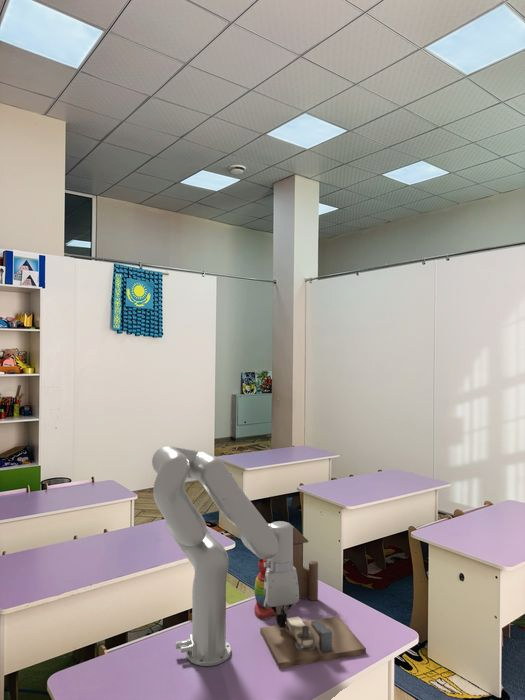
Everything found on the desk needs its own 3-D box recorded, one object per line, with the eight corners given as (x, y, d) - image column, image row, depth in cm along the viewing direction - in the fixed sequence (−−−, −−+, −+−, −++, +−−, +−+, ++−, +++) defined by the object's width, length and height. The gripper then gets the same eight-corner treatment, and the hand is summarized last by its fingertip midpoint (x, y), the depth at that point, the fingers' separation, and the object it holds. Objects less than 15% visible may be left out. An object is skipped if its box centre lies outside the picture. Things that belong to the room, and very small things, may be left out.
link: (316, 646, 140) (317, 630, 140) (300, 649, 139) (300, 633, 139) (300, 622, 153) (300, 608, 153) (285, 625, 152) (285, 610, 152)
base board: (278, 668, 134) (278, 662, 134) (260, 632, 151) (260, 626, 151) (365, 653, 141) (365, 647, 141) (338, 620, 158) (338, 615, 158)
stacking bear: (259, 620, 158) (259, 564, 159) (248, 606, 168) (248, 553, 168) (290, 613, 162) (289, 559, 163) (277, 600, 172) (277, 548, 172)
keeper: (322, 653, 138) (322, 633, 138) (310, 637, 146) (310, 618, 146) (331, 651, 139) (332, 631, 139) (320, 635, 147) (320, 616, 147)
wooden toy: (278, 608, 166) (279, 533, 167) (270, 599, 172) (271, 526, 173) (319, 600, 172) (319, 527, 172) (310, 592, 178) (311, 522, 179)
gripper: (260, 572, 145) (261, 635, 144) (308, 566, 149) (308, 627, 149) (253, 562, 152) (254, 622, 152) (299, 556, 156) (300, 615, 156)
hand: (281, 625), depth 150 cm, fingers closed
